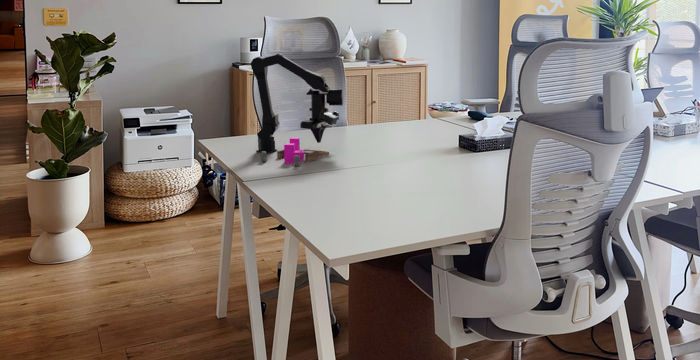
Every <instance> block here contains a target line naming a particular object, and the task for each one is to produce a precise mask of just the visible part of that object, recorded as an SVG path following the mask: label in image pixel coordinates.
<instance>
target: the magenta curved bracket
mask: <svg viewBox="0 0 700 360" xmlns="http://www.w3.org/2000/svg"><path fill="white" fill-rule="evenodd" d="M300 139H301V138H300V137H289V142H288V143H284V144H283V149H284V159H283V161H284V164H294V156H299V157H300V164H302V162H303V160H304V159H305V154H304V150H303V149H300V148H301V147H300V144H301V143H300Z"/></svg>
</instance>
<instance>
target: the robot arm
mask: <svg viewBox="0 0 700 360" xmlns="http://www.w3.org/2000/svg"><path fill="white" fill-rule="evenodd" d="M274 65H279V66H281V67H283V68H284V69H286V70H287V71H289V72H290V73H292V74H294V75H296V76H298V77H299V78H300V79H302V80H304V82H305V83H306V84H307V85H308V86H309V87H310V88H309V90H308V92H306V96H311V97H310V99H311V101H310V102H311V103H310V104H311V107H309V111H310V112H311V117H309V120H308V119H307V120H302V121H301V122H300V123H299V124H300V129H308V130H310V131H311V133H312V135H313V137H314V139H315V141H316V142H317V144H319V143H321V142H322V139H323V135H324V132H325V130H326V129H327V128H329V125H330V126H333V125H336V124H337V121H339V120H340V114H339V111H336V110H335V111H332V112H329V108H328V107H326V104H328V105H329V107H330V106H334V107H335V106H337V107H338V106H339V107H340V106H341V107H342V106H344V95H343V94H344V92H343V88H338V89H335V88H333V89H331V88H330V86H329V85H328V84H327V82H326V78H325V76H323V75H322V74H321V73H317V72H315V71H312V70H309V69H306V68H305V67H303V66H301V65H300V64H298V63H296V62H295V61H293V60H292V59H290V58H288V57H286V56H285V55H284V54H282V53H276V54H275V55H274V54H273V55H271V56H270V55H269V56H260V55H259V56H257V57H254V58H252V60H251V62H250V67H251V70H252V72H253V76H254V77H255V78H256V83H257V88H258V94H259V98H260V105H261V111H262V117H261V130H259V131H258V132H257V133H256V136H257V144H258V145H257V146H258V148H257V149H256V150H255V152H256V153H257V152H258V153H261V152H263V151H265V152H266V154H270V153H273V152H277V151H278V150H277V149H276V140H275V136H274V134H275V132H276V131H278V128H279V125H280V124H281V123H280V121H279V114H275V112H274V111H273V105H272V100H271V94H270V87H269V83H268V71H269V69H268V68H269V67H271V66H274Z"/></svg>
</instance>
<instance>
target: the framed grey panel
mask: <svg viewBox="0 0 700 360" xmlns="http://www.w3.org/2000/svg"><path fill="white" fill-rule="evenodd" d="M302 150H304V159H305V161H304V162H305V163H311V162H312V161H316V160H318V159H320V157H324V156H328V155H329V154H330V152H329V151H327V150H320V149H311V148H304V149H302ZM260 155H261V163H267V161H268V160H267V159H268V158H267V153H266V152H265V151H263V152H260ZM276 158H277V159H278V160H279V159H282V158H284V148H283V149H279V150H277V151H276ZM293 164H294V167H295V168H296V167H297V168H299V167H300V164H301V163H300V157H299V156H294V163H293Z"/></svg>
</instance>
